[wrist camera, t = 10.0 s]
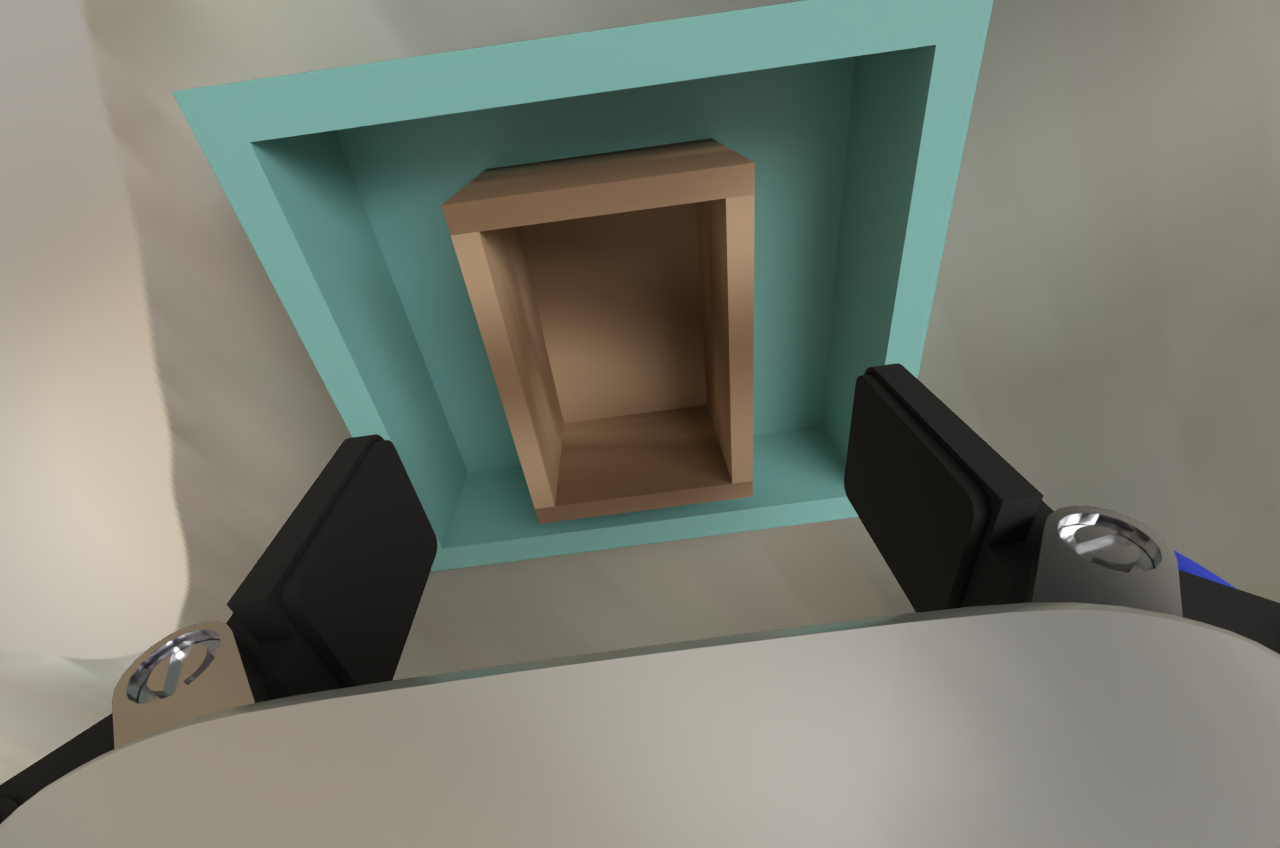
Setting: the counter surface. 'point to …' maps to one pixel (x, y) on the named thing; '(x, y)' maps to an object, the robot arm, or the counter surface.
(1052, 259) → the counter surface
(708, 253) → the walnut crate
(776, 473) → the teal crate
